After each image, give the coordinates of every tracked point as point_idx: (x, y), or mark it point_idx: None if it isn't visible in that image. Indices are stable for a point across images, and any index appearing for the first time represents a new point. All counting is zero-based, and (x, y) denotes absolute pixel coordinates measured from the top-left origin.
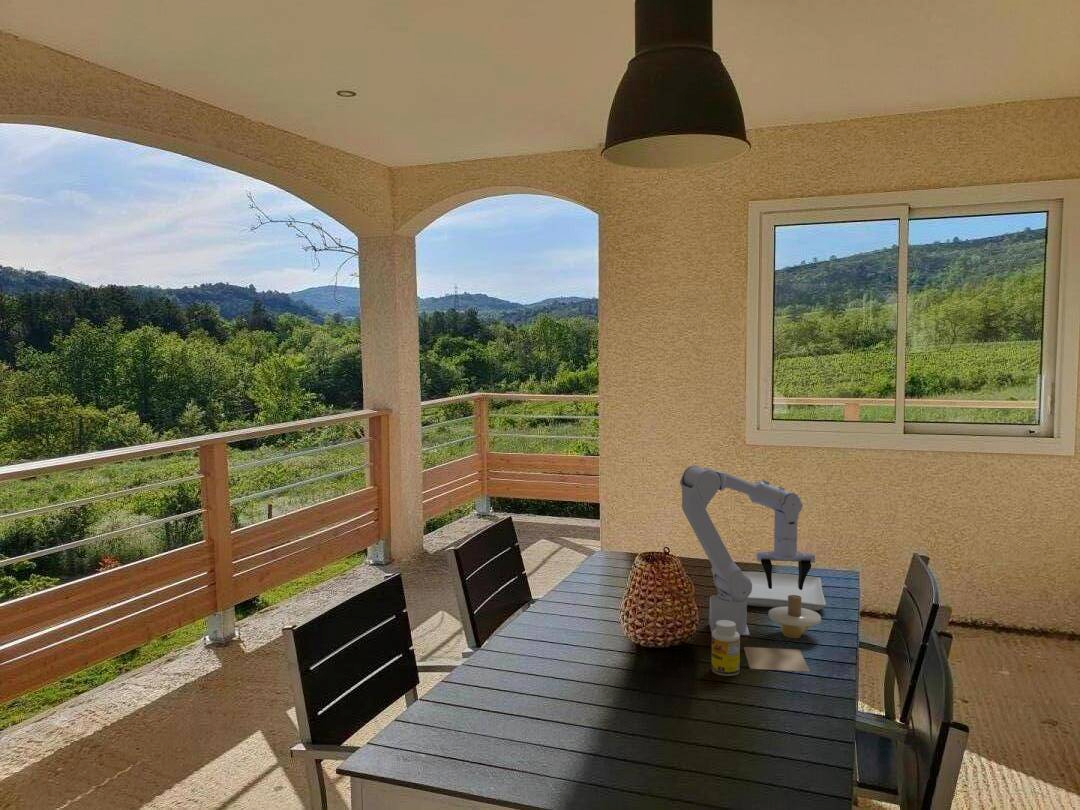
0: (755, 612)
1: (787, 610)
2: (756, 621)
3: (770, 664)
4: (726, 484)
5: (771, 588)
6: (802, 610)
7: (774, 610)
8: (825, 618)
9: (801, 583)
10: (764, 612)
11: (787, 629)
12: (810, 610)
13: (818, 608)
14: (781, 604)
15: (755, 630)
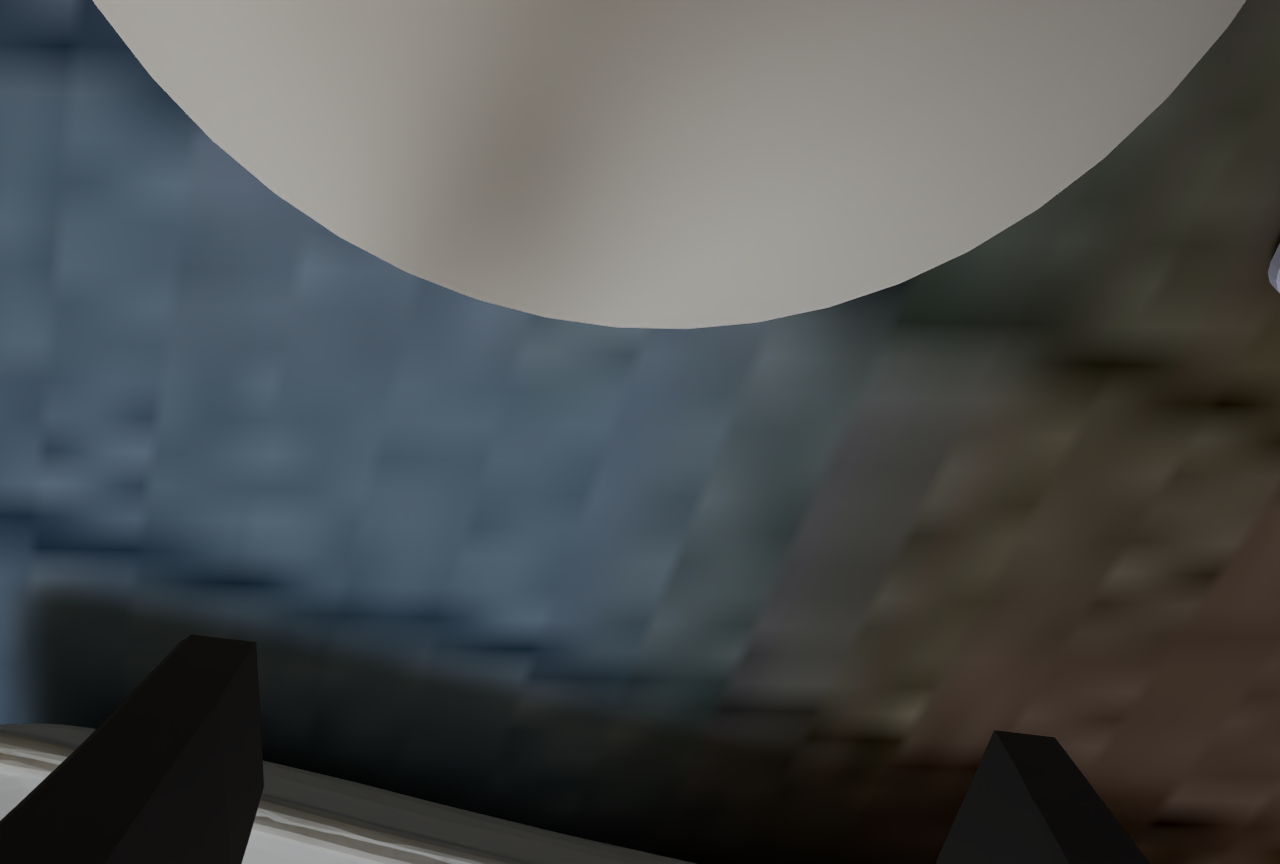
0: (862, 733)
1: (737, 56)
2: (993, 461)
3: None
4: None
5: (1007, 735)
6: (362, 49)
7: (1070, 55)
8: (10, 538)
9: (133, 760)
10: (749, 730)
11: None
12: (164, 40)
13: (57, 726)
14: (513, 836)
15: (1203, 98)
